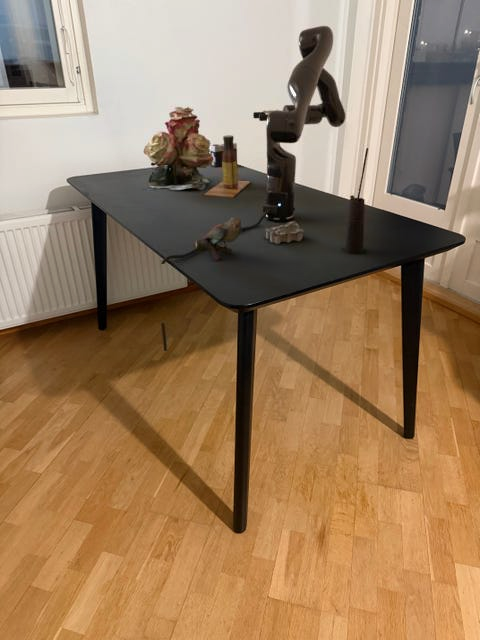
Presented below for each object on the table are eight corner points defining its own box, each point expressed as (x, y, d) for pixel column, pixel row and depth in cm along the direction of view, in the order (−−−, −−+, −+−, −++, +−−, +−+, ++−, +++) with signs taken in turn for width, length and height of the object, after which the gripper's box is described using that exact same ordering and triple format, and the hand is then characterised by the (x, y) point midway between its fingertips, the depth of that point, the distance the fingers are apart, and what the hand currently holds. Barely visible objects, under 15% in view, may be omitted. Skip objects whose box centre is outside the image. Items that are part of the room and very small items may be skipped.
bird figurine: (179, 245, 133) (196, 193, 117) (208, 239, 138) (228, 188, 123) (202, 281, 129) (223, 232, 113) (230, 273, 134) (254, 224, 118)
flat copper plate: (233, 197, 179) (233, 196, 179) (204, 195, 182) (204, 194, 182) (250, 182, 199) (250, 181, 199) (223, 181, 202) (223, 179, 202)
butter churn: (330, 243, 136) (340, 143, 122) (362, 242, 136) (375, 142, 122) (338, 255, 128) (349, 149, 114) (372, 254, 129) (387, 148, 114)
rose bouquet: (141, 190, 190) (132, 110, 175) (172, 174, 214) (167, 102, 199) (198, 195, 183) (194, 112, 168) (224, 178, 207) (223, 104, 191)
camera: (227, 160, 239) (226, 140, 234) (237, 163, 233) (237, 142, 228) (205, 164, 231) (204, 143, 226) (215, 167, 226) (215, 145, 221)
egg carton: (296, 233, 144) (297, 220, 142) (305, 241, 138) (306, 228, 136) (263, 236, 142) (264, 223, 140) (271, 244, 135) (272, 231, 133)
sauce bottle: (235, 184, 195) (234, 134, 185) (240, 188, 189) (239, 136, 179) (220, 185, 193) (219, 135, 183) (225, 189, 188) (223, 137, 178)
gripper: (301, 127, 179) (261, 129, 176) (289, 123, 191) (251, 124, 188) (302, 106, 175) (261, 107, 172) (290, 103, 187) (251, 104, 184)
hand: (256, 116), depth 180 cm, fingers open, 8 cm apart
